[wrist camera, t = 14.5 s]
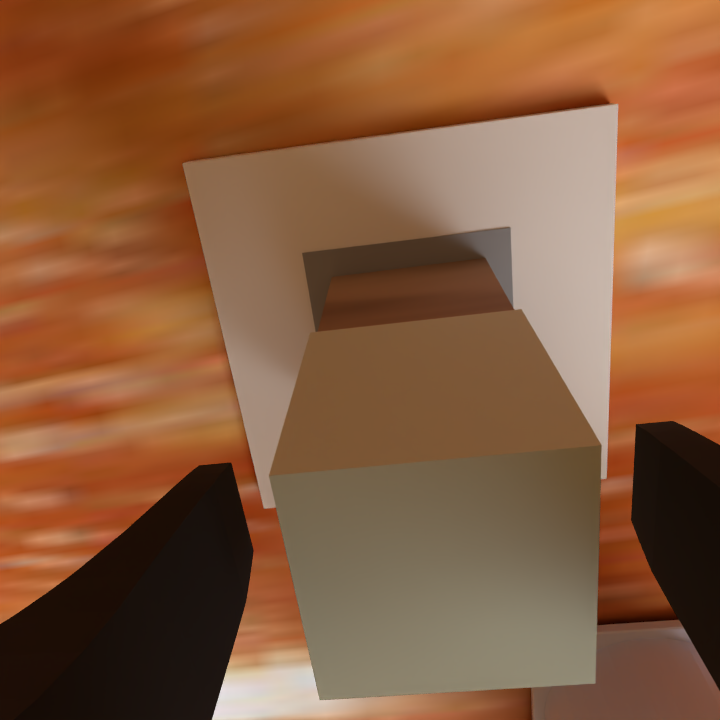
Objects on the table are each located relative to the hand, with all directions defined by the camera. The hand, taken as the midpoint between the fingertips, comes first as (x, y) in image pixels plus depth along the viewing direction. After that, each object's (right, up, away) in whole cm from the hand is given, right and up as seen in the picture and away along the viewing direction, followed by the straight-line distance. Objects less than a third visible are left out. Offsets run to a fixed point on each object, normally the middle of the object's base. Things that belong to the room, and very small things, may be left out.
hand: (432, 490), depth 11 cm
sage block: (0, +1, +2) cm, 2 cm away
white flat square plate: (0, +3, +7) cm, 8 cm away
